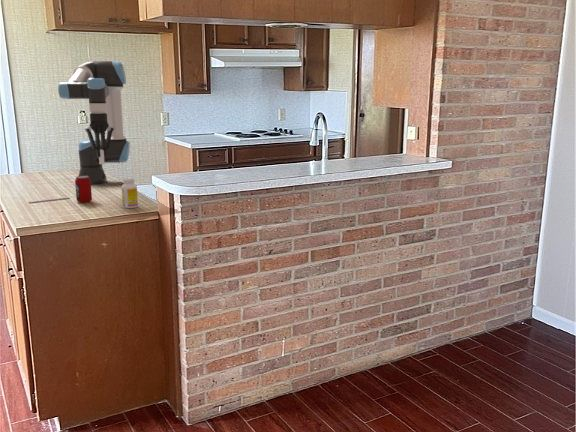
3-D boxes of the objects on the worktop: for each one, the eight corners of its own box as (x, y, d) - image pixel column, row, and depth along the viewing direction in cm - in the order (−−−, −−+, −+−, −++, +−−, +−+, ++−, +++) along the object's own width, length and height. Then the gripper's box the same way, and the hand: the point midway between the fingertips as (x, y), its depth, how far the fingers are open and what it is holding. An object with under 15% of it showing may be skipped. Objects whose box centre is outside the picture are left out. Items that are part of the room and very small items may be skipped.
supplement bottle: (141, 206, 250) (139, 178, 247) (132, 209, 244) (130, 180, 241) (128, 204, 252) (126, 177, 249) (119, 208, 246) (117, 179, 243)
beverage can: (79, 200, 260) (77, 175, 257) (93, 200, 261) (91, 175, 258) (75, 203, 254) (72, 177, 251) (90, 203, 254) (88, 177, 252)
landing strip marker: (68, 198, 265) (68, 197, 265) (69, 198, 264) (69, 198, 264) (28, 202, 255) (28, 202, 255) (29, 203, 253) (29, 202, 253)
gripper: (109, 112, 260) (112, 161, 265) (81, 112, 252) (85, 164, 258) (115, 112, 254) (118, 163, 259) (86, 113, 246) (90, 165, 252)
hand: (101, 163), depth 258 cm, fingers closed
